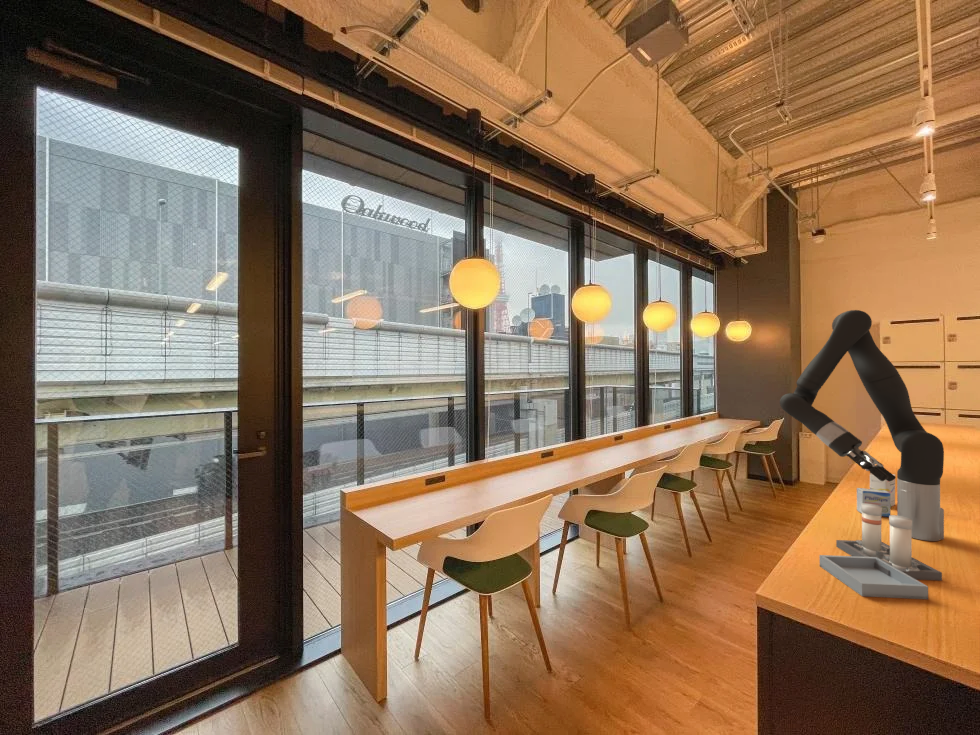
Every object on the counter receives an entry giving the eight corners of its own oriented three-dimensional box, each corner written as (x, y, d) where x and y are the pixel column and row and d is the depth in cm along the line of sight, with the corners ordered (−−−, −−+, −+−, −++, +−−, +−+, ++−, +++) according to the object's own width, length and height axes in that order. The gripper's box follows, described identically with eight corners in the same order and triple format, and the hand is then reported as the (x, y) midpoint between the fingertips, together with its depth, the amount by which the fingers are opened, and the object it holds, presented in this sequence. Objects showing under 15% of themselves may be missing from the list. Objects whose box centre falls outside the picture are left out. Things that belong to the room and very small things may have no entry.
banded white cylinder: (873, 551, 115) (873, 503, 115) (886, 558, 111) (886, 508, 111) (857, 551, 116) (857, 503, 116) (869, 558, 112) (869, 508, 111)
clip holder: (881, 548, 117) (881, 539, 117) (941, 580, 100) (942, 570, 100) (836, 546, 119) (836, 538, 118) (888, 578, 101) (888, 568, 101)
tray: (876, 568, 106) (876, 557, 106) (928, 599, 92) (928, 586, 92) (819, 566, 108) (819, 555, 107) (862, 596, 94) (862, 583, 94)
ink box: (886, 509, 148) (886, 469, 148) (869, 504, 152) (869, 466, 152) (896, 504, 152) (896, 466, 152) (878, 501, 156) (878, 463, 156)
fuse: (902, 567, 106) (901, 515, 106) (917, 575, 102) (916, 521, 102) (884, 566, 107) (884, 514, 107) (898, 575, 103) (898, 521, 102)
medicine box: (862, 514, 143) (862, 490, 143) (856, 510, 147) (856, 487, 147) (891, 517, 140) (890, 493, 140) (884, 513, 144) (884, 489, 144)
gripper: (841, 429, 125) (895, 471, 114) (854, 432, 133) (906, 472, 122) (820, 445, 128) (871, 487, 117) (835, 447, 136) (884, 487, 125)
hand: (889, 479), depth 119 cm, fingers open, 8 cm apart
